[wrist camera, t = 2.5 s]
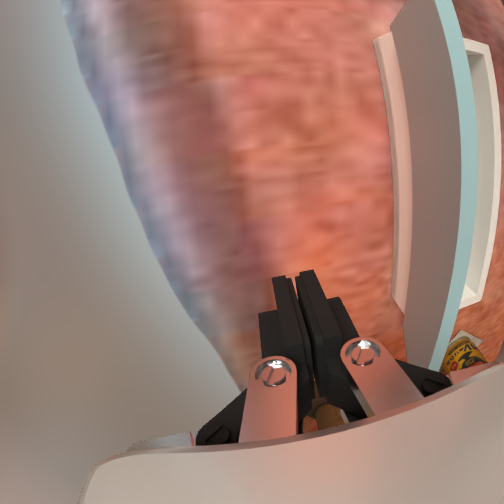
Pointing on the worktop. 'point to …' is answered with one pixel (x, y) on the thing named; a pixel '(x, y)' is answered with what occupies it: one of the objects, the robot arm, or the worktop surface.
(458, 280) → the cover
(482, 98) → the white open box
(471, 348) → the condiment
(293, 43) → the worktop surface
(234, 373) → the worktop surface
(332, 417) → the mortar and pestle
